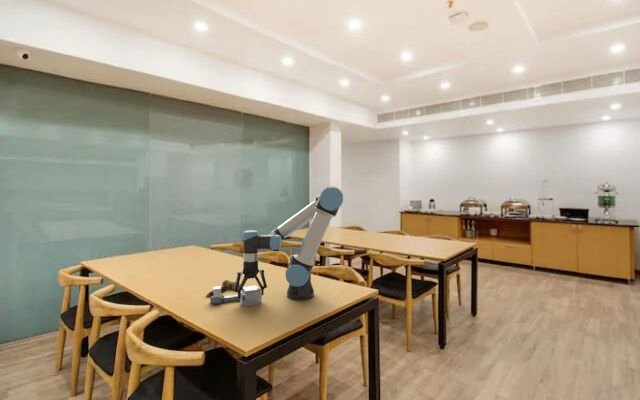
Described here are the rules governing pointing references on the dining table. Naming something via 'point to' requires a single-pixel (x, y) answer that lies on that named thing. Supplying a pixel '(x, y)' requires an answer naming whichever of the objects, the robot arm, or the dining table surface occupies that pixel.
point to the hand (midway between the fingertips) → (250, 302)
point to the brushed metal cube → (251, 295)
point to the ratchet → (221, 297)
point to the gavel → (224, 287)
